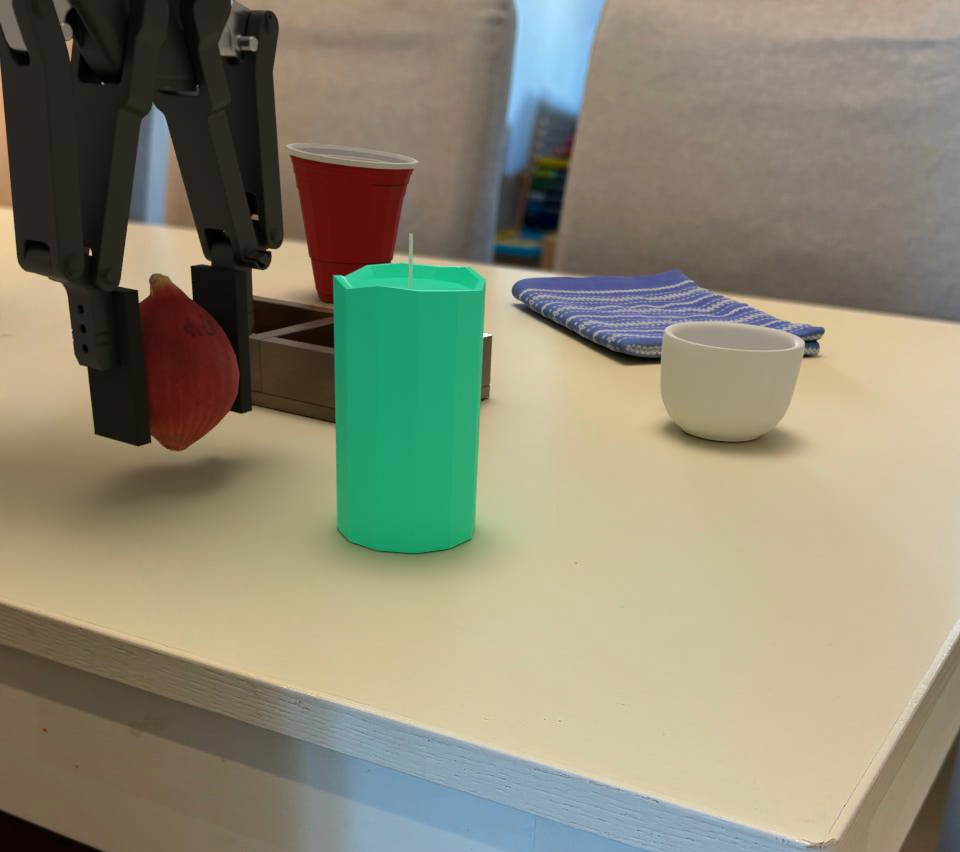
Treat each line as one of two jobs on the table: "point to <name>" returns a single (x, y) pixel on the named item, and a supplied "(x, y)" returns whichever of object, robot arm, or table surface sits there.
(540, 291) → the dish towel
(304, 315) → the tray
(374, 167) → the plastic cup
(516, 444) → the table surface
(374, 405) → the candle
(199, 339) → the onion
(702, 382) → the teacup
